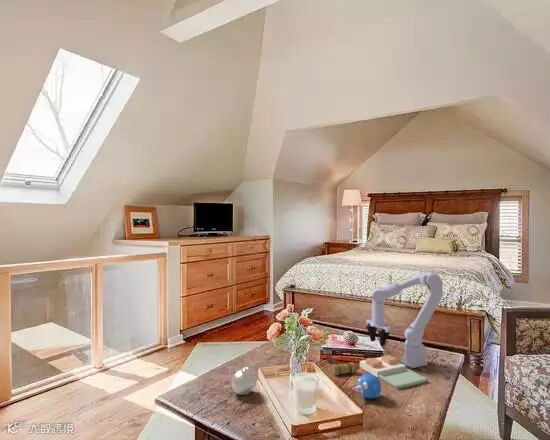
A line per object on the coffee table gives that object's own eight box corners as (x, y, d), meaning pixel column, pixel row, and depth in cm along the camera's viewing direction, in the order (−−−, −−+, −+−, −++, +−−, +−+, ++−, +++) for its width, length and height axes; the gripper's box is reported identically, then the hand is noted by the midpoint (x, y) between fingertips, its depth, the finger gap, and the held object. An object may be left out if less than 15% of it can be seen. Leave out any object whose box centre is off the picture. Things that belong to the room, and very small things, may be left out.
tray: (406, 371, 158) (406, 367, 158) (427, 382, 147) (427, 378, 147) (377, 377, 151) (378, 374, 151) (397, 389, 141) (397, 385, 141)
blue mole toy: (343, 393, 137) (343, 371, 137) (368, 388, 142) (368, 366, 142) (362, 409, 126) (362, 385, 126) (389, 402, 131) (389, 379, 131)
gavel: (315, 352, 172) (334, 350, 174) (315, 361, 171) (334, 359, 174) (334, 366, 152) (355, 364, 154) (335, 377, 151) (356, 374, 154)
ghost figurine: (250, 401, 130) (250, 374, 130) (227, 396, 133) (227, 370, 133) (259, 390, 138) (259, 364, 138) (237, 386, 142) (238, 361, 142)
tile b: (374, 362, 161) (374, 357, 161) (382, 366, 157) (382, 361, 157) (365, 363, 159) (365, 359, 159) (373, 368, 155) (373, 363, 155)
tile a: (389, 359, 165) (389, 354, 165) (397, 363, 160) (397, 358, 160) (381, 360, 163) (381, 356, 163) (389, 364, 158) (389, 360, 158)
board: (386, 361, 169) (387, 355, 169) (405, 371, 158) (406, 365, 158) (359, 366, 162) (359, 361, 162) (377, 377, 151) (377, 371, 151)
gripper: (361, 311, 174) (361, 339, 174) (382, 319, 161) (381, 349, 161) (373, 310, 177) (372, 337, 177) (394, 317, 164) (393, 347, 164)
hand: (377, 343), depth 169 cm, fingers open, 6 cm apart
